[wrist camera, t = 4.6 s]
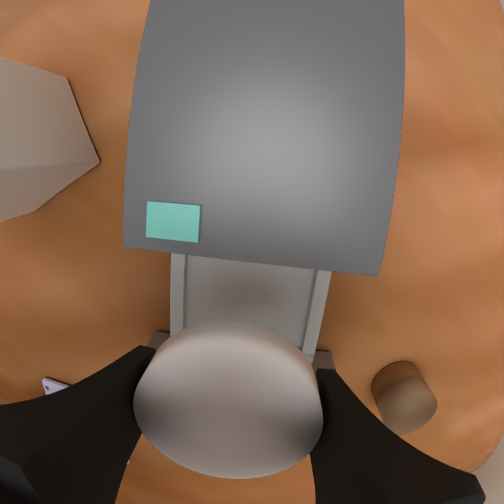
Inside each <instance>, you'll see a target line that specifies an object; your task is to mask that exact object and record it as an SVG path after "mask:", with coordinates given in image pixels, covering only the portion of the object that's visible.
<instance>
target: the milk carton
mask: <svg viewBox="0 0 504 504" xmlns="http://www.w3.org/2000/svg"><path fill="white" fill-rule="evenodd" d="M99 163H100V161H99V158H98V156H97V154H96V151H95V149H94V147H93V144H92V142H91V139H90V137H89V134H88V132H87V130H86V127H85V125H84V122H83V119H82V117H81V114H80V112H79V109H78V107H77V104H76V101H75V98H74V96H73V93H72V90H71V88H70V85H69V82H68V79H67V77H64V76H61V75H58V74H55V73H52V72H49V71H46V70H43V69H40V68H36V67H33V66H30V65H27V64H23V63H20V62H16V61H13V60H9V59H6V58H2V57H0V222H2V221H5V220H8V219H11V218H15V217H18V216H21V215H25V214H28V213H32V212H34V211H36V210H37V209H38V208H40V207H41V206H42V205H43V204H45V203H46V202H47V201H48V200H50V199H51V198H52V197H54V196H55V195H56V194H58V193H59V192H60V191H62V190H63V189H64V188H66V187H67V186H68V185H70V184H71V183H72V182H74V181H75V180H77V179H78V178H79V177H81V176H82V175H84V174H85V173H86V172H88V171H89V170H91V169H92V168H94V167H95V166H96V165H98V164H99Z"/></svg>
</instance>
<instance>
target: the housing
mask: <svg viewBox="0 0 504 504" xmlns="http://www.w3.org/2000/svg"><path fill="white" fill-rule="evenodd" d="M404 80H405V19H404V0H151V1H150V5H149V9H148V14H147V18H146V23H145V27H144V32H143V37H142V42H141V47H140V53H139V58H138V64H137V70H136V76H135V83H134V90H133V97H132V105H131V113H130V122H129V131H128V142H127V153H126V167H125V183H124V207H123V247H126V248H134V249H142V250H150V251H158V252H167V253H175V254H183V255H191V256H200V257H208V258H217V259H225V260H234V261H243V262H251V263H260V264H269V265H278V266H287V267H296V268H305V269H314V270H323V271H332V272H341V273H351V274H360V275H369V276H379V273H380V268H381V264H382V259H383V254H384V249H385V244H386V239H387V233H388V228H389V222H390V216H391V210H392V204H393V197H394V191H395V184H396V176H397V168H398V160H399V151H400V141H401V130H402V117H403V102H404Z"/></svg>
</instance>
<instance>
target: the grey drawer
mask: <svg viewBox="0 0 504 504" xmlns="http://www.w3.org/2000/svg"><path fill="white" fill-rule="evenodd" d="M331 273H332V271H323V270H314V269H305V268H296V267H287V266H278V265H269V264H260V263H251V262H243V261H234V260H225V259H217V258H208V257H200V256H191V255H183V254H175V253H171V281H170V333H164V332H158V331H156V332H155V334H154V336H153V337H152V339H151V340H150V342H149V343H148V345H147V347H152V348H156V352H157V350H158V348H159V347H160V346H161V345H162V344H163V343H164V342H165V341H166V340H167V339H168V338H169V337H171V336H172V335H173V334H175V333H177V332H179V331H180V330H182V329H185V328H187V327H190V326H192V325H196V324H200V323H204V322H211V321H238V322H244V323H250V324H254V325H257V326H261V327H264V328H266V329H269V330H271V331H273V332H276V333H278V334H279V335H281V336H283V337H284V338H286V339H288V340H289V341H290V342H291V343H293V344H294V345H295V346H296V347H297V348H298V349H299V350H300V351H301V352H302V353H303V354H304V355H305V356H306V358H307V359H308V361H309V362H310V364H311V366H312V368H313V370H314V373H315V375H316V371H317V368H322V369H334V370H335V371H336V369H335V365H334V362H333V358H332V355H331V352H325V351H315V350H316V345H317V341H318V336H319V332H320V327H321V323H322V318H323V313H324V309H325V304H326V299H327V294H328V289H329V283H330V278H331Z"/></svg>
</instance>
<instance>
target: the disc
mask: <svg viewBox="0 0 504 504" xmlns="http://www.w3.org/2000/svg"><path fill="white" fill-rule="evenodd" d="M133 408H134V414H135V418H136V421H137V423H138V426H139V428H140V429H141V431H142V433H143V434H144V436H145V437H146V438H147V440H148V441H149V442H150V443H151V444H152V445H153V446H154V447H155V448H156V449H157V450H158V451H159V452H161V453H162V454H163V455H164V456H166V457H167V458H169V459H170V460H172V461H174V462H175V463H177V464H179V465H181V466H183V467H185V468H188V469H190V470H193V471H195V472H198V473H202V474H205V475H209V476H214V477H220V478H229V479H249V478H257V477H263V476H268V475H272V474H275V473H278V472H281V471H283V470H285V469H288V468H290V467H291V466H293V465H295V464H297V463H298V462H300V461H301V460H302V459H303V458H305V457H306V456H307V455H308V454H309V453H310V452H311V451H312V449H313V448H314V447H315V445H316V444H317V442H318V440H319V438H320V436H321V433H322V429H323V412H322V407H321V401H320V396H319V391H318V385H317V380H316V376H315V373H314V370H313V368H312V366H311V364H310V362H309V361H308V359H307V358H306V356H305V355H304V354H303V353H302V352H301V351H300V350H299V349H298V348H297V347H296V346H295V345H294V344H293V343H291V342H290V341H289V340H288V339H286V338H284V337H283V336H281V335H279V334H278V333H276V332H273V331H271V330H269V329H266V328H264V327H261V326H257V325H254V324H250V323H244V322H238V321H211V322H204V323H200V324H196V325H192V326H190V327H187V328H185V329H182V330H180V331H179V332H177V333H175V334H173V335H172V336H171V337H169V338H168V339H167V340H166V341H165V342H164V343H163V344H162V345H161V346H160V347H159V348H158V350H157V352H156V353H155V355H154V356H153V358H152V360H151V362H150V364H149V365H148V367H147V369H146V371H145V373H144V374H143V376H142V378H141V380H140V382H139V383H138V385H137V388H136V391H135V393H134V400H133Z"/></svg>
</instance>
